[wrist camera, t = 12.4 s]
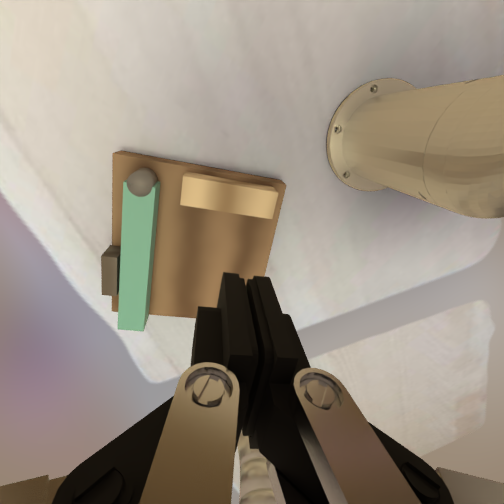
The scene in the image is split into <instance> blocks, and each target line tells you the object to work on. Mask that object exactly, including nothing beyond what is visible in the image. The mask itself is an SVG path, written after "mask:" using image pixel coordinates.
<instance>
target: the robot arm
mask: <svg viewBox="0 0 504 504" xmlns="http://www.w3.org/2000/svg"><path fill="white" fill-rule="evenodd" d="M370 88H372V91H370ZM335 127H337V131H336V132H335ZM327 154H328V159H329V163H330V165H331V167H332V170H333V171H334V173H335V174H336V176H337V177H338V178H339V179H340V180H341V181H342V182H343V183H345V184H347V185H348V186H350V187H352V188H355V189H357V190H362V191H377V190H382V189H385V188H388V187H389V188H392V189H394V190H397V191H400V192H402V193H405V194H407V195H410V196H413V197H415V198H418V199H421V200H423V201H426V202H429V203H431V204H434V205H437V206H439V207H442V208H445V209H448V210H450V211H453V212H456V213H458V214H461V215H465V216H469V217H475V218H501V217H504V75H500V76H495V77H489V78H482V79H476V80H470V81H464V82H457V83H451V84H445V85H439V86H433V87H427V88H420V89H416V88H415V87H414V86H412V85H411V84H410V83H408V82H405V81H403V80H400V79H394V78H386V79H379V80H375V81H371V82H369V83H367V84H364V85H362V86H360V87H359V88H357V89H356V90H354V91H353V92H352V93H351V94H350V95H349V96H348V97H347V98H346V99H345V100H344V101H343V102H342V103H341V105H340V106H339V108H338V109H337V111H336V113H335V115H334V117H333V119H332V121H331V124H330V127H329V130H328V136H327ZM344 172H345V175H344V176H343V174H344ZM241 430H242V434H243V436H248V437H249V446H250V449H259V452H260V453H261V454H262V455H263V456H264V457H265V458H266V459H267V462H266V465H267V472H268V475H269V479H270V482H271V486H272V489H273V493H274V496H275V500H276V503H277V504H504V483H500V482H496V481H492V480H488V479H484V478H480V477H476V476H472V475H468V474H464V473H460V472H456V471H452V470H448V469H444V468H440V467H437V468H436V470H434V469H433V468H432V467H431V466H429V465H428V464H427V463H426V462H424V461H423V460H422V459H421V458H419V457H418V456H416V455H415V454H414V453H412V452H411V451H409V450H408V449H406V448H405V447H404V446H402V445H401V444H399V443H398V442H396V441H395V440H394V439H392V438H391V437H389V436H388V435H386V434H385V433H383V432H382V431H381V430H379V429H378V428H376V427H375V426H373V425H372V424H371V423H369V422H368V421H367V420H366V418H365V417H364V415H363V414H362V412H361V411H360V409H359V408H358V406H357V405H356V403H355V402H354V400H353V399H352V397H351V395H350V394H349V392H348V391H347V389H346V388H345V387H344V385H343V384H342V383H341V382H340V381H339V380H338V379H337V378H336V377H335V376H333V375H332V374H330V373H328V372H326V371H324V370H321V369H317V368H311V367H310V365H309V362H308V360H307V357H306V355H305V352H304V349H303V347H302V345H301V342H300V339H299V337H298V334H297V332H296V329H295V327H294V324H293V322H292V319H291V317H290V315H288V314H283V313H282V310H281V308H280V305H279V302H278V299H277V297H276V294H275V291H274V288H273V286H272V283H271V280H270V278H269V277H263V276H253V279H248V280H247V283H246V285H245V280H244V278H240V277H239V274H237V273H228V272H223V275H222V280H221V286H220V291H219V297H218V303H217V308H214V307H203V306H198V310H197V316H196V323H195V330H194V338H193V347H192V358H191V367H189V368H188V369H187V370H186V371H185V372H184V373H183V374H182V376H181V377H180V379H179V382H178V385H177V388H176V391H175V394H174V396H173V397H171V398H170V399H169V400H167V401H166V402H165V403H163V404H162V405H161V406H159V407H158V408H156V409H155V410H154V411H152V412H151V413H150V414H148V415H147V416H146V417H144V418H143V419H141V420H140V421H139V422H137V423H136V424H134V425H133V426H132V427H130V428H129V429H128V430H126V431H125V432H124V433H122V434H121V435H119V436H118V437H117V438H115V439H114V440H113V441H111V442H110V443H108V444H107V445H106V446H104V447H103V448H102V449H100V450H99V451H97V452H96V453H95V454H93V455H92V456H91V457H89V458H88V459H87V460H85V461H84V462H82V463H81V464H80V465H79V466H77V467H76V468H75V469H74V470H73V471H72V472H71V473H70V474H69V475H67V476H63V477H59V478H55V479H51V480H49V475H45V476H40V477H36V478H32V479H28V480H24V481H20V482H16V483H12V484H7V485H3V486H0V504H231V495H232V483H233V470H234V457H235V452H236V448H237V445H238V441H239V437H240V434H241Z"/></svg>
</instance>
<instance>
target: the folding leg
mask: <svg viewBox="0 0 504 504" xmlns="http://www.w3.org/2000/svg"><path fill="white" fill-rule="evenodd" d="M159 193H160V182H158V179H157V176H156V174H155V172H154V171H152V170H151V169H149V168H140V169H139V170H137V171H135V172H134V173H132V174H131V175H130V176H129V177H128V179H127V180H125V181H124V182H123V204H122V230H121V256H120V282H119V307H118V329H121V330H133V331H144V328H145V325H146V322H147V319H148V316H149V305H150V294H151V282H152V271H153V260H154V249H155V237H156V226H157V215H158V204H159Z"/></svg>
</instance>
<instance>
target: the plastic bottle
mask: <svg viewBox="0 0 504 504" xmlns="http://www.w3.org/2000/svg"><path fill="white" fill-rule="evenodd" d="M237 446H238V453H239V460H240V498H239V504H277V503H276V500H275V496H274V493H273V489H272V486H271V482H270V479H269V475H268V472H267V465H266V462H267V459H266V458H265V457H264V456H263V455H262V454H261V453H260V452H259V449H250V446H249V437H248V436H243V434H242V430H241V434H240V437H239V441H238V445H237Z"/></svg>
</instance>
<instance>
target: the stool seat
mask: <svg viewBox="0 0 504 504" xmlns="http://www.w3.org/2000/svg"><path fill="white" fill-rule="evenodd" d="M140 168H149V169H151V170H152V171H154V172H155V174H156V176H157V179H158V182H160V193H159V204H158V215H157V226H156V237H155V249H154V260H153V271H152V282H151V294H150V305H149V314H150V315H163V316H175V317H187V318H196V316H197V310H198V306H203V307H214V308H217V303H218V297H219V291H220V286H221V280H222V275H223V272H228V273H237V274H239V277H240V278H244V280H245V285H246V283H247V280H248V279H253V276H263V277H264V275H265V271H266V267H267V263H268V259H269V255H270V250H271V246H272V242H273V238H274V234H275V230H276V226H277V222H278V218H279V213H280V209H281V205H282V201H283V197H284V193H285V189H286V184H285V183H284V182H282V181H281V180H277V179H272V178H267V177H261V176H256V175H250V174H245V173H240V172H234V171H229V170H223V169H218V168H212V167H207V166H202V165H196V164H191V163H185V162H180V161H175V160H169V159H164V158H158V157H153V156H148V155H142V154H137V153H131V152H126V151H118V152H115V153H113V183H112V245H110V246H109V247H108V249H107V250H106V251H105V252H104V253H103V255H102V256H101V266H102V295H109V296H112V311H114V312H118V307H119V282H120V256H121V230H122V204H123V182H124V181H125V180H127V179H128V177H129V176H130V175H131V174H132V173H134V172H135V171H137V170H139V169H140Z"/></svg>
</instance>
